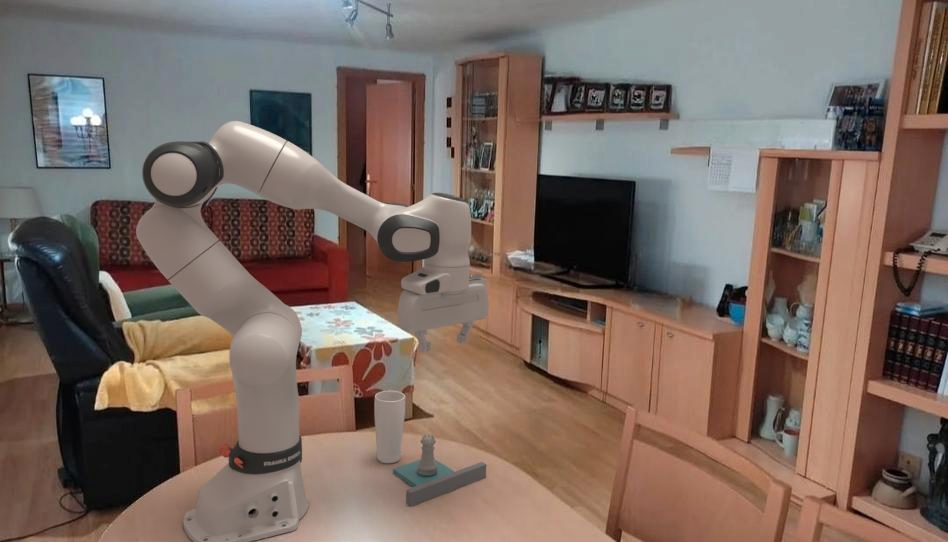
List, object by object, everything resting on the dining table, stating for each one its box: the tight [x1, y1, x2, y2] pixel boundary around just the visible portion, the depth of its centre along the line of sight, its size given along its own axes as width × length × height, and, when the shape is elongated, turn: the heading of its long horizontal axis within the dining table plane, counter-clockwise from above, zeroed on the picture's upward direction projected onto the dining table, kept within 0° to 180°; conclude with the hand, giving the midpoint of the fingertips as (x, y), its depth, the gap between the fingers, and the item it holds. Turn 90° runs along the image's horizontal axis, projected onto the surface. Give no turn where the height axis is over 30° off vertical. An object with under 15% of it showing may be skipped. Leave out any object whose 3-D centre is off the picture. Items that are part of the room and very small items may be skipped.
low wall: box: [405, 461, 488, 507], centre depth 143 cm, size 20×2×3 cm, turn 131°
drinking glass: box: [373, 390, 406, 464], centre depth 154 cm, size 7×7×15 cm
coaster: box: [392, 459, 456, 488], centre depth 149 cm, size 10×10×1 cm
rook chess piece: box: [417, 434, 438, 476], centre depth 147 cm, size 4×4×8 cm
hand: (443, 346), depth 136 cm, fingers open, 8 cm apart
